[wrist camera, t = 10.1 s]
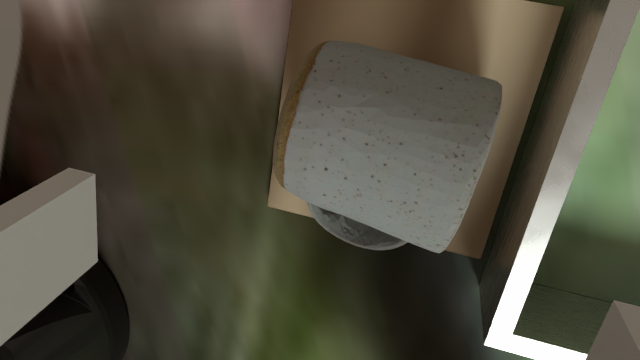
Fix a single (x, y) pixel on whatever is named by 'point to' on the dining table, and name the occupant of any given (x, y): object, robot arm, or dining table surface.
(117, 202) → the dining table surface
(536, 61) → the cork pad
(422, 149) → the ceramic mug
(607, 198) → the dining table surface
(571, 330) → the equipment case
